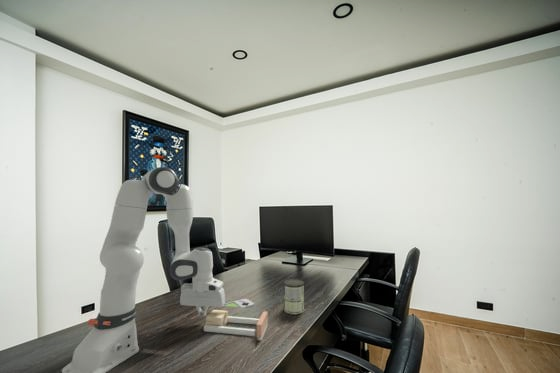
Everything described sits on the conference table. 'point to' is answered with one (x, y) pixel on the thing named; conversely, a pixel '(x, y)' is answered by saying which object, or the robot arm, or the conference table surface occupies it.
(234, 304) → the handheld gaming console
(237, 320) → the rail
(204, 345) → the conference table surface
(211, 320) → the block
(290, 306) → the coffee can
